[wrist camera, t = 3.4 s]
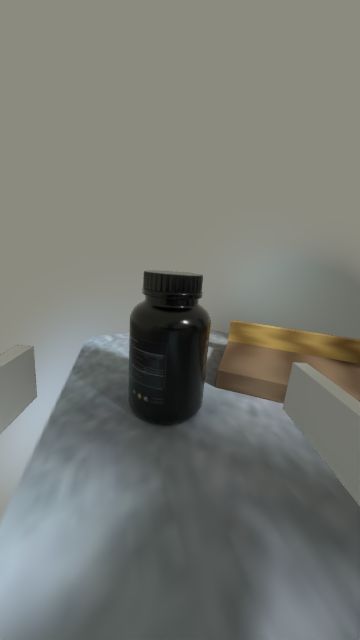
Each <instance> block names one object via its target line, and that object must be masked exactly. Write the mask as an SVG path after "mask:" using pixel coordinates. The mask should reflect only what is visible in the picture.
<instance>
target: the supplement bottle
mask: <svg viewBox="0 0 360 640" xmlns="http://www.w3.org/2000/svg"><path fill="white" fill-rule="evenodd" d="M202 280H203V275H200V274H194V273H186V272H173V271H144V284H143V289H142V293H143V294H145V301H143V302H141V303H139V304H138V305H137V306H136V307H135V308H134V309H133V311H132V312H131V315H130V339H129V404H130V406H131V408H132V410H133V411H134V412H135V413H136V414H137V415H138V416H139V417H141V418H142V419H144V420H146V421H149V422H152V423H156V424H176V423H181V422H184V421H186V420H188V419H190V418H192V417H193V416H194V415H195V414H196V413H197V412H198V411H199V409H200V407H201V404H202V398H203V390H204V380H205V371H206V362H207V353H208V343H209V334H210V322H211V320H210V316H209V314H208V312H207V311H206V310H205V309H204V308H203V307H202V306H200V305H199V304H198V299H199V298H202V291H201V290H202Z"/></svg>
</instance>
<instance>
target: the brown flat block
mask: <svg viewBox="0 0 360 640" xmlns="http://www.w3.org/2000/svg"><path fill="white" fill-rule="evenodd" d="M293 362H297V363H307V364H309V365H310V366H311V367H313V368H314V369H315V370H317V371H318V372H320V373H321V374H322V375H324V376H325V377H326V378H328V379H329V380H331V381H332V382H333V383H335V384H336V385H337V386H339V387H340V388H342V389H343V390H344V391H346V392H347V393H348V394H350V395H351V396H352V397H354V398H355V399H357V400H358V401H359V402H360V340H359V339H353V338H346V337H340V336H333V335H326V334H319V333H313V332H306V331H300V330H293V329H286V328H280V327H274V326H267V325H261V324H254V323H247V322H241V321H234V320H232V321H231V325H230V332H229V339H228V343H227V346H226V348H225V351H224V354H223V357H222V359H221V362H220V365H219V368H218V371H217V378H216V386H215V387H217V388H222V389H226V390H230V391H235V392H239V393H243V394H247V395H252V396H256V397H260V398H265V399H269V400H273V401H277V402H282V403H284V400H285V396H286V391H287V386H288V382H289V377H290V373H291V368H292V364H293Z"/></svg>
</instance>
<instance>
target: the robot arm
mask: <svg viewBox="0 0 360 640" xmlns="http://www.w3.org/2000/svg"><path fill="white" fill-rule="evenodd" d="M35 376H36V375H35V360H34V347H33V346H23V345H17V346H15V347H13V348H11V349H9V350H7V351H6V352H4V353H2V354H0V434H1V433H2V432H3V431H4V430H5V429H6V428H7V427H8V426H9V425H10V424H11V423H12V422H13V421H14V420H15V419H16V418H17V417H18V416H19V414H20V413H21V412H22V411H23V410H24V409H25V408H26V407H27V406H28V405H29V404H30V403H31V402H32V401H33V400H34V399H35V398H36V397H37V390H36V377H35ZM283 409H284V410H285V412H286V413H287V414H288V416H289V417H290V418H291V419H292V421H293V422H294V423H295V424H296V426H297V427H298V428H299V430H300V431H301V432H302V433H303V435H304V436H305V437H306V438H307V440H308V441H309V442H310V444H311V445H312V446H313V447H314V449H315V450H316V451H317V452H318V454H319V455H320V456H321V458H322V459H323V460H324V461H325V463H326V464H327V465H328V467H329V468H330V469H331V470H332V472H333V473H334V474H335V475H336V477H337V478H338V479H339V481H340V482H341V483H342V484H343V486H344V487H345V488H346V489H347V491H348V492H349V493H350V495H351V496H352V497H353V498H354V500H355V501H356V502H357V503H358V505H359V506H360V402H359V401H358V400H357V399H355V398H354V397H352V396H351V395H350V394H348V393H347V392H346V391H344V390H343V389H342V388H340V387H339V386H337V385H336V384H335V383H333V382H332V381H331V380H329V379H328V378H326V377H325V376H324V375H322V374H321V373H320V372H318V371H317V370H315V369H314V368H313V367H311V366H310V365H309V364H307V363H297V362H293V364H292V368H291V373H290V377H289V382H288V386H287V391H286V396H285V400H284V405H283Z"/></svg>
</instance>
